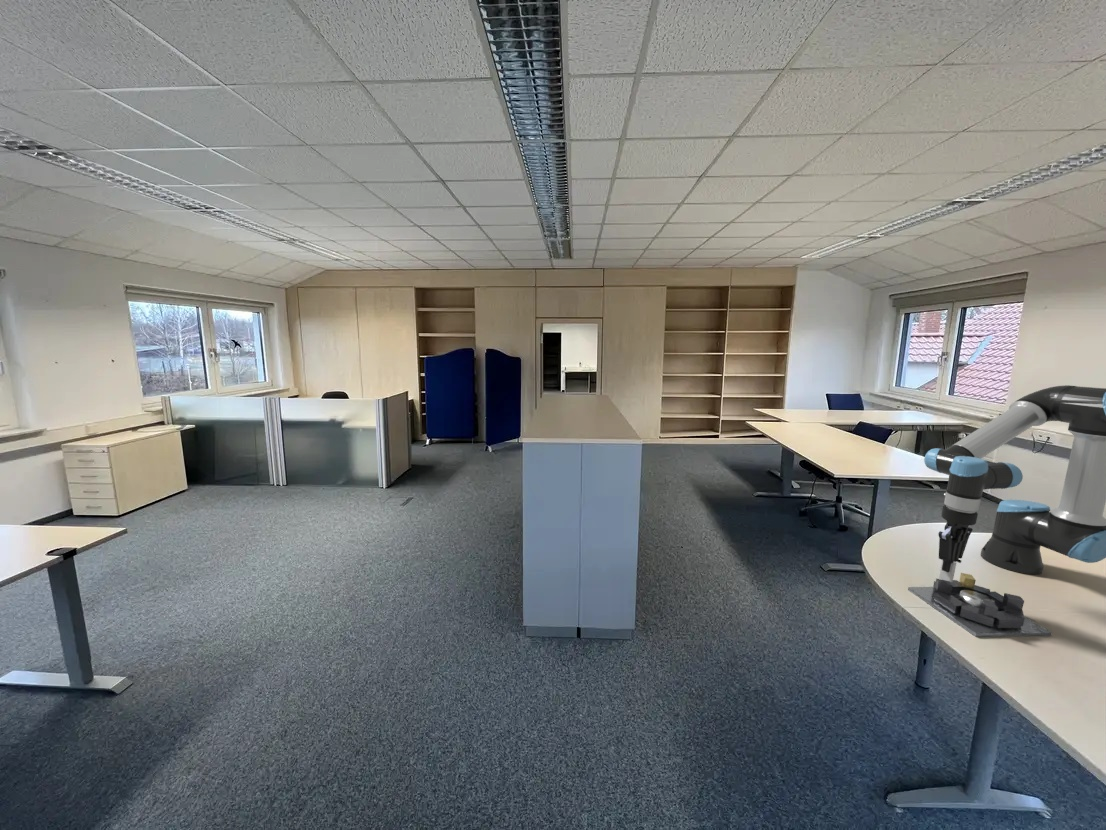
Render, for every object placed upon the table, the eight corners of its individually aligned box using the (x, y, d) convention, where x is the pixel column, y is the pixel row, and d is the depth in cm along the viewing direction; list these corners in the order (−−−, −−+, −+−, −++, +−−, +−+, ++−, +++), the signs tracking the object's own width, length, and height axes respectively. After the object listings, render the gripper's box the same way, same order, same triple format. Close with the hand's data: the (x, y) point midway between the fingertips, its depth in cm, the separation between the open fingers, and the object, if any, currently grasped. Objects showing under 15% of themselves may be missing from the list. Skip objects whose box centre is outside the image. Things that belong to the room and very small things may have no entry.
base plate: (971, 589, 133) (974, 576, 132) (1050, 635, 113) (1054, 620, 112) (907, 589, 133) (910, 577, 132) (975, 636, 112) (978, 621, 111)
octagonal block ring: (972, 587, 132) (976, 571, 131) (1042, 627, 113) (1046, 609, 112) (916, 587, 131) (919, 571, 130) (976, 628, 113) (980, 610, 112)
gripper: (957, 500, 130) (943, 569, 134) (932, 506, 125) (918, 577, 129) (989, 509, 123) (973, 582, 127) (963, 516, 118) (948, 591, 123)
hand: (945, 579), depth 128 cm, fingers closed
